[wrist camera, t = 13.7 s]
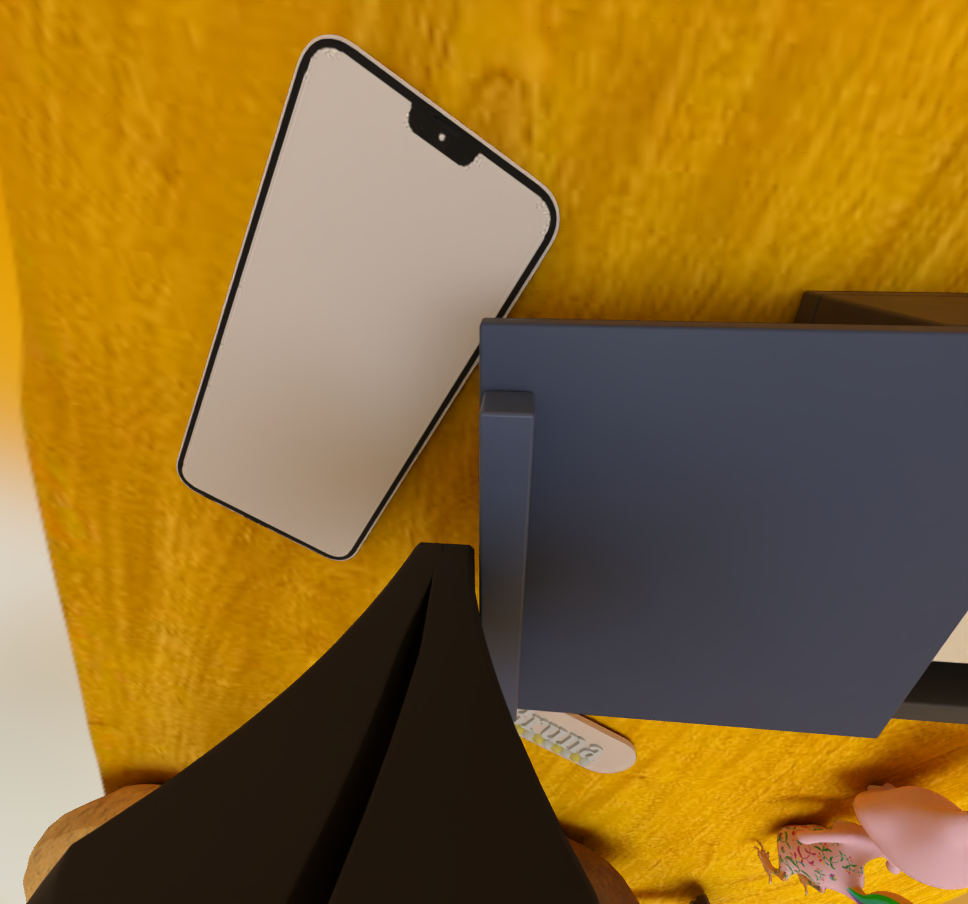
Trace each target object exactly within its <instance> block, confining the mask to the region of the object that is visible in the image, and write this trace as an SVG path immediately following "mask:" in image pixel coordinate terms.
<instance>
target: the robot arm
mask: <svg viewBox="0 0 968 904" xmlns="http://www.w3.org/2000/svg"><path fill="white" fill-rule="evenodd" d="M26 904H600V903H599V900H598V897H597V894H596V892H595V890H594V888H593V886H592V884H591V882H590V880H589V878H588V877H587V875H586V873H585V871H584V869H583V867H582V865H581V864H580V862H579V860H578V858H577V856H576V854H575V852H574V850H573V848H572V846H571V844H570V843H569V841H568V839H567V837H566V835H565V833H564V831H563V829H562V827H561V825H560V823H559V821H558V819H557V817H556V815H555V813H554V811H553V809H552V807H551V805H550V803H549V800H548V798H547V796H546V794H545V792H544V790H543V788H542V786H541V784H540V782H539V779H538V777H537V775H536V773H535V770H534V768H533V766H532V764H531V761H530V759H529V757H528V754H527V752H526V750H525V748H524V745H523V743H522V741H521V739H520V736H519V734H518V732H517V729H516V727H515V724H514V722H513V719H512V717H511V714H510V711H509V709H508V706H507V704H506V701H505V698H504V695H503V693H502V690H501V687H500V684H499V681H498V679H497V676H496V672H495V669H494V666H493V663H492V660H491V657H490V653H489V650H488V646H487V643H486V639H485V635H484V631H483V627H482V623H481V619H480V614H479V609H478V605H477V600H476V594H475V559H474V549H473V548H472V547H471V546H470V545H461V544H442V543H424V542H421V543H419V544H418V545H417V546H416V547H415V549H414V550H413V551H412V553H411V554H410V556H409V557H408V558H407V560H406V561H405V562H404V564H403V565H402V566H401V568H400V569H399V570H398V572H397V573H396V574H395V576H394V577H393V578H392V579H391V581H390V582H389V583H388V584H387V586H386V587H385V588H384V589H383V590H382V592H381V593H380V594H379V595H378V596H377V598H376V599H375V600H374V601H373V602H372V604H371V605H370V606H369V607H368V608H367V609H366V611H365V612H364V613H363V614H362V615H361V616H360V617H359V618H358V619H357V620H356V622H355V623H354V624H353V625H352V626H351V627H350V628H349V629H348V630H347V631H346V632H345V633H344V634H343V635H342V637H341V638H340V639H339V640H338V641H337V642H336V643H335V644H334V645H333V646H332V647H331V648H330V649H329V650H328V651H327V652H326V653H325V654H324V655H323V656H322V657H321V658H320V659H319V660H318V661H317V662H316V663H315V664H314V665H312V666H311V667H310V668H309V669H308V670H307V671H306V672H305V673H304V674H303V675H302V676H301V677H299V678H298V679H297V680H296V681H295V682H294V683H293V684H292V685H291V686H289V687H288V688H287V689H286V690H285V691H284V692H282V693H281V694H280V695H279V696H278V697H277V698H275V699H274V700H273V701H272V702H271V703H269V704H268V705H267V706H266V707H265V708H264V709H262V710H261V711H260V712H259V713H258V714H256V715H255V716H254V717H253V718H251V719H250V720H249V721H248V722H246V723H245V724H244V725H243V726H241V727H240V728H239V729H238V730H236V731H235V732H234V733H232V734H231V735H230V736H228V737H227V738H226V739H224V740H223V741H222V742H220V743H219V744H218V745H216V746H215V747H214V748H212V749H211V750H209V751H208V752H207V753H205V754H204V755H203V756H201V757H200V758H199V759H197V760H196V761H195V762H193V763H192V764H191V765H189V766H188V767H187V768H185V769H184V770H183V771H181V772H180V773H178V774H177V775H176V776H174V777H173V778H171V779H170V780H169V781H167V782H166V783H164V784H163V785H161V786H160V787H158V788H157V789H155V790H154V791H152V792H151V793H149V794H148V795H146V796H145V797H143V798H142V799H140V800H139V801H137V802H136V803H134V804H133V805H131V806H130V807H128V808H127V809H125V810H124V811H122V812H121V813H119V814H118V815H116V816H115V817H113V818H112V819H110V820H109V821H107V822H106V823H104V824H103V825H101V826H100V827H98V828H97V829H95V830H93V831H92V832H90V833H89V834H87V835H86V836H84V837H82V838H81V839H79V840H78V841H76V842H74V843H73V844H72V845H71V846H70V847H69V848H68V850H67V851H66V852H65V853H64V855H63V856H62V857H61V858H60V860H59V861H58V862H57V863H56V865H55V866H54V867H53V868H52V870H51V871H50V872H49V873H48V875H47V876H46V877H45V879H44V880H43V881H42V882H41V884H40V885H39V887H38V888H37V889H36V891H35V892H34V894H33V895H32V896H31V898H30V899H29V900H28V902H27V903H26Z"/></svg>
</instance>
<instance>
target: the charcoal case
mask: <svg viewBox="0 0 968 904" xmlns="http://www.w3.org/2000/svg"><path fill="white" fill-rule="evenodd" d="M794 324H846V325H899V326H951V327H968V293H934V292H863V291H806V292H805V293H804V295H803V298H802V301H801V304H800V307H799V311H798V314H797V317H796V320H795V323H794ZM892 718H895V719H907V720H920V721H933V722H946V723H958V724H968V663H955V662H941V661H932V662H931V663H930V665H929V666H928V667H927V669H926V670H925V672H924V673H923V674H922V676H921V677H920V679H919V680H918V681H917V683H916V684H915V686H914V687H913V688H912V690H911V691H910V693H909V694H908V695H907V697H906V698H905V700H904V701H903V702H902V704H901V705H900V707H899V708H898V709H897V711H896V712H895V714H894V715H893V716H892Z"/></svg>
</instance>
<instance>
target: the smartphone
mask: <svg viewBox="0 0 968 904" xmlns="http://www.w3.org/2000/svg"><path fill="white" fill-rule="evenodd" d="M559 222H560V214H559V208H558V205H557V202H556V200H555V198H554V196H553V194H552V193H551V192H550V190H549V189H548V188H547V187H546V186H545V185H543V184H542V183H541V182H540V181H538V180H537V179H536V178H534V177H533V176H532V175H530V174H529V173H528V172H526V171H525V170H524V169H522V168H521V167H520V166H518V165H517V164H516V163H514V162H513V161H512V160H510V159H509V158H507V157H506V156H505V155H503V154H502V153H501V152H499V151H498V150H497V149H495V148H494V147H493V146H491V145H490V144H489V143H487V142H486V141H485V140H483V139H482V138H481V137H479V136H478V135H477V134H475V133H474V132H472V131H471V130H470V129H468V128H467V127H466V126H464V125H463V124H462V123H460V122H459V121H458V120H456V119H455V118H454V117H452V116H451V115H450V114H448V113H447V112H446V111H444V110H443V109H441V108H440V107H439V106H437V105H436V104H435V103H433V102H432V101H431V100H429V99H428V98H427V97H425V96H424V95H423V94H421V93H420V92H419V91H417V90H416V89H415V88H413V87H412V86H410V85H409V84H408V83H406V82H405V81H404V80H402V79H401V78H400V77H398V76H397V75H396V74H394V73H393V72H392V71H390V70H389V69H388V68H386V67H385V66H384V65H382V64H381V63H379V62H378V61H377V60H375V59H374V58H373V57H371V56H370V55H369V54H367V53H366V52H365V51H363V50H362V49H361V48H359V47H358V46H357V45H355V44H353V43H352V42H350V41H349V40H347V39H345V38H343V37H340V36H337V35H321V36H318V37H316V38H314V39H313V40H312V41H310V42H309V43H308V44H307V46H306V47H305V48H304V50H303V51H302V53H301V55H300V58H299V60H298V63H297V65H296V68H295V72H294V75H293V78H292V81H291V85H290V88H289V91H288V94H287V98H286V101H285V104H284V108H283V111H282V114H281V118H280V121H279V124H278V127H277V131H276V134H275V137H274V141H273V144H272V147H271V151H270V154H269V157H268V160H267V164H266V167H265V170H264V174H263V177H262V180H261V184H260V187H259V190H258V194H257V197H256V200H255V203H254V207H253V210H252V213H251V217H250V220H249V223H248V227H247V230H246V233H245V237H244V240H243V243H242V246H241V250H240V253H239V256H238V260H237V263H236V266H235V270H234V273H233V276H232V279H231V283H230V286H229V289H228V293H227V296H226V299H225V303H224V306H223V309H222V313H221V316H220V319H219V322H218V326H217V329H216V332H215V336H214V339H213V342H212V346H211V349H210V352H209V356H208V359H207V362H206V365H205V369H204V372H203V375H202V379H201V382H200V385H199V389H198V392H197V395H196V399H195V402H194V405H193V408H192V412H191V415H190V418H189V422H188V425H187V428H186V432H185V435H184V438H183V441H182V445H181V448H180V451H179V455H178V458H177V463H176V469H177V473H178V475H179V477H180V479H181V480H182V481H183V483H184V484H185V485H186V486H188V487H189V488H190V489H191V490H193V491H195V492H196V493H198V494H200V495H202V496H204V497H206V498H208V499H210V500H212V501H214V502H216V503H218V504H220V505H222V506H224V507H226V508H228V509H230V510H232V511H234V512H236V513H238V514H240V515H242V516H244V517H246V518H248V519H250V520H252V521H254V522H256V523H258V524H260V525H262V526H264V527H266V528H268V529H270V530H272V531H274V532H276V533H278V534H280V535H282V536H284V537H286V538H288V539H290V540H292V541H294V542H296V543H298V544H300V545H302V546H304V547H306V548H308V549H310V550H312V551H314V552H316V553H318V554H320V555H322V556H324V557H326V558H329V559H332V560H337V561H344V560H348V559H351V558H352V557H354V556H355V555H356V554H357V552H358V551H359V549H360V548H361V546H362V545H363V543H364V541H365V540H366V538H367V537H368V535H369V533H370V532H371V530H372V529H373V527H374V526H375V524H376V522H377V521H378V519H379V518H380V516H381V515H382V513H383V511H384V510H385V508H386V507H387V505H388V503H389V502H390V500H391V499H392V497H393V496H394V494H395V492H396V491H397V489H398V488H399V486H400V485H401V483H402V481H403V480H404V478H405V477H406V475H407V473H408V472H409V470H410V469H411V467H412V466H413V464H414V462H415V461H416V459H417V458H418V456H419V455H420V453H421V451H422V450H423V448H424V447H425V445H426V443H427V442H428V440H429V439H430V437H431V436H432V434H433V432H434V431H435V429H436V428H437V426H438V424H439V423H440V421H441V420H442V418H443V417H444V415H445V413H446V412H447V410H448V409H449V407H450V405H451V404H452V402H453V401H454V399H455V398H456V396H457V394H458V393H459V391H460V390H461V388H462V387H463V385H464V383H465V382H466V380H467V379H468V377H469V375H470V374H471V372H472V371H473V369H474V368H475V366H477V365H478V363H479V326H480V324H481V321H482V319H483V318H506V317H507V315H508V314H509V312H510V311H511V309H512V307H513V306H514V304H515V303H516V301H517V300H518V298H519V296H520V295H521V293H522V292H523V290H524V288H525V287H526V285H527V284H528V282H529V280H530V279H531V277H532V276H533V274H534V273H535V271H536V269H537V268H538V266H539V265H540V263H541V261H542V260H543V258H544V257H545V255H546V254H547V252H548V250H549V249H550V247H551V245H552V243H553V242H554V240H555V237H556V235H557V232H558V228H559Z"/></svg>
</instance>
